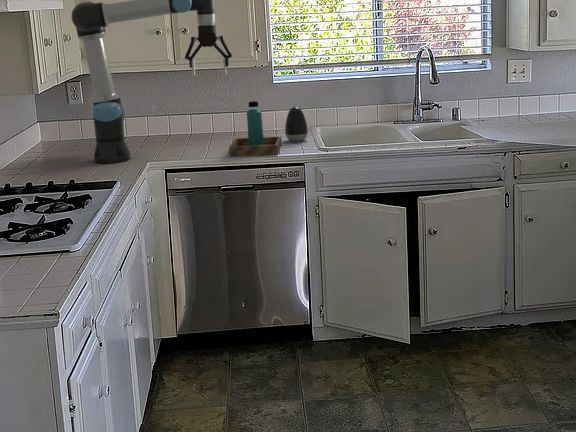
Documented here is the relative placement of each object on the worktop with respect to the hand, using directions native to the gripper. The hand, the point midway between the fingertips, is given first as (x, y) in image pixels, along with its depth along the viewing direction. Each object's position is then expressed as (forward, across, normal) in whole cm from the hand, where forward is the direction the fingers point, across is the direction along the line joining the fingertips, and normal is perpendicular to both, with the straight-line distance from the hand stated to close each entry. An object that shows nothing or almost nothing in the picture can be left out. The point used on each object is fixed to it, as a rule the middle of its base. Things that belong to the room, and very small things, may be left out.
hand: (209, 75), depth 372 cm
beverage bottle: (+30, -20, +14) cm, 39 cm away
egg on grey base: (+31, -36, -6) cm, 48 cm away
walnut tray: (+31, -20, +14) cm, 40 cm away
